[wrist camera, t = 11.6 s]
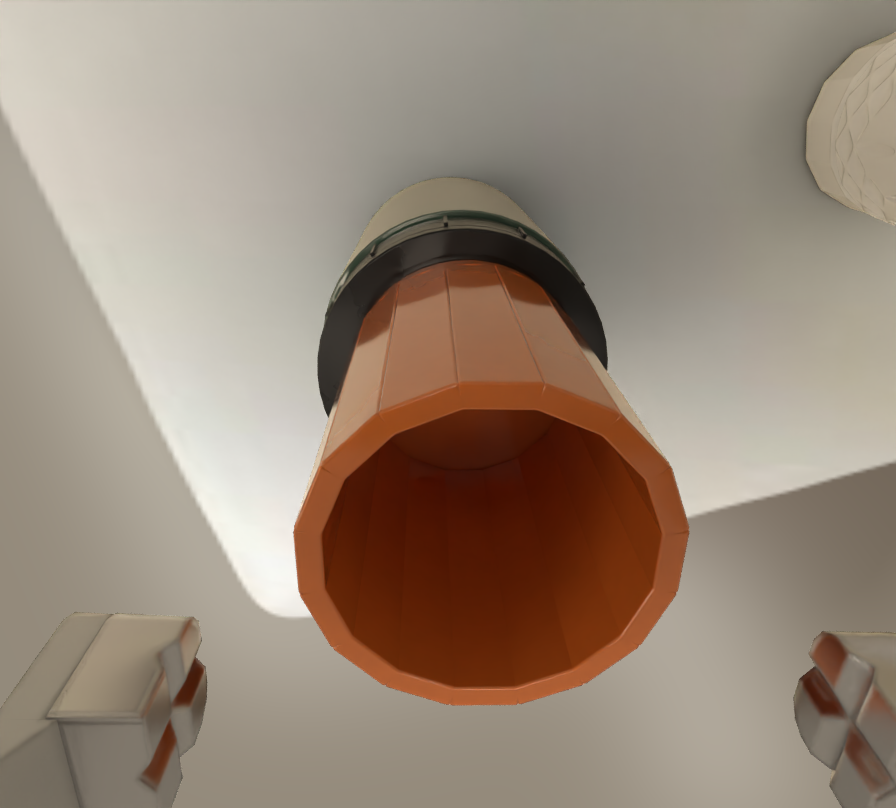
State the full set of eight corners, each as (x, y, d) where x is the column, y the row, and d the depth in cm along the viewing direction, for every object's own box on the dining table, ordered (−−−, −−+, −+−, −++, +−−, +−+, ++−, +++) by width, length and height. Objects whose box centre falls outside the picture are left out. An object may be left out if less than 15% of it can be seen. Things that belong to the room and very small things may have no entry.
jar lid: (279, 280, 19) (264, 297, 18) (544, 171, 18) (557, 178, 17) (391, 500, 23) (388, 535, 21) (622, 418, 22) (640, 446, 20)
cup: (311, 311, 18) (221, 470, 10) (536, 221, 17) (628, 318, 9) (404, 500, 20) (390, 745, 12) (605, 429, 19) (724, 643, 12)
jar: (322, 223, 29) (260, 290, 18) (506, 144, 28) (555, 166, 17) (401, 390, 32) (387, 530, 21) (568, 325, 31) (642, 438, 20)
